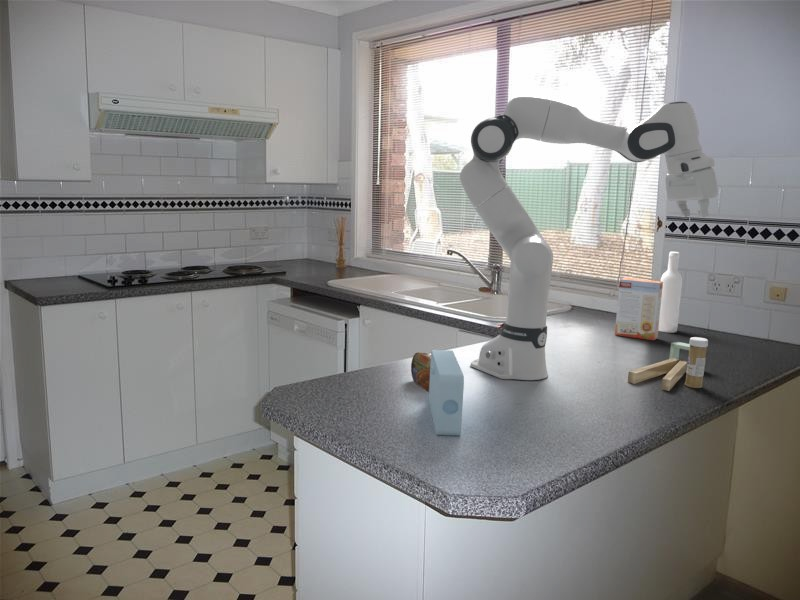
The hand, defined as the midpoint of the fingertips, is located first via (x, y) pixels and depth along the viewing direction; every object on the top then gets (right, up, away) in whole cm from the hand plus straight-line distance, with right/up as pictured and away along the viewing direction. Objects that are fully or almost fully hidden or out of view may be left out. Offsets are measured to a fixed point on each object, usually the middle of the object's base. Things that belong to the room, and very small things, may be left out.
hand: (694, 216), depth 180 cm
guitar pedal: (-67, -49, -25) cm, 87 cm away
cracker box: (+8, -35, +69) cm, 78 cm away
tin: (-70, -45, -2) cm, 83 cm away
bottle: (+24, -34, +83) cm, 92 cm away
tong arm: (0, -44, +14) cm, 47 cm away
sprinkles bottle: (+3, -46, +9) cm, 47 cm away
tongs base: (-3, -44, +18) cm, 47 cm away
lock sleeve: (+9, -42, +28) cm, 52 cm away
